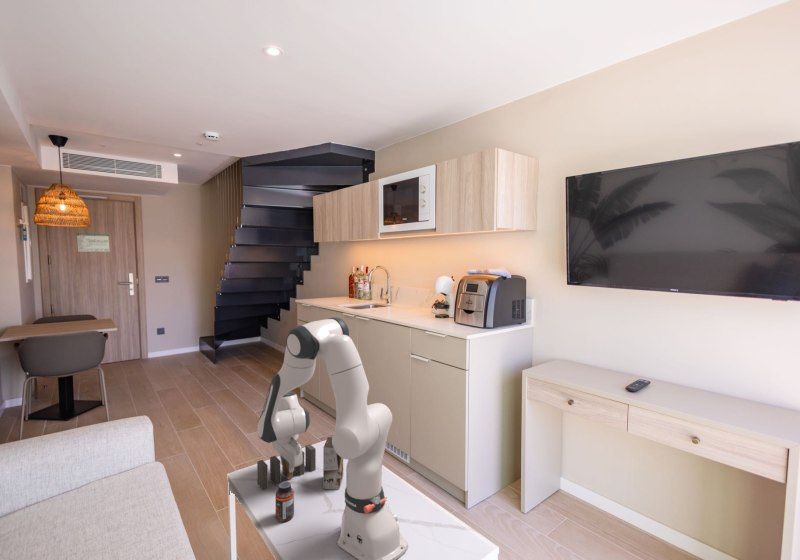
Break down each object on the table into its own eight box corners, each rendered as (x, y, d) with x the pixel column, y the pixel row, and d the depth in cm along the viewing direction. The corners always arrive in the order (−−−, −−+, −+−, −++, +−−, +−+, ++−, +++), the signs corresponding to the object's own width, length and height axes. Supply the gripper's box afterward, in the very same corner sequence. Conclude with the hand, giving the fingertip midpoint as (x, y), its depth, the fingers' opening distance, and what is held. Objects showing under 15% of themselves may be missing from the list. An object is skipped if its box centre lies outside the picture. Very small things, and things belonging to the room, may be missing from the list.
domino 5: (315, 470, 161) (315, 448, 160) (311, 471, 160) (311, 450, 159) (309, 465, 165) (309, 444, 164) (305, 466, 163) (305, 445, 163)
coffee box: (339, 489, 147) (339, 447, 146) (322, 489, 148) (322, 447, 147) (343, 476, 156) (343, 436, 156) (327, 475, 157) (327, 436, 156)
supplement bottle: (272, 516, 132) (272, 483, 131) (289, 508, 136) (289, 477, 135) (280, 525, 128) (279, 491, 127) (297, 517, 131) (296, 484, 131)
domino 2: (280, 483, 151) (280, 460, 151) (275, 485, 150) (275, 462, 149) (275, 477, 155) (274, 455, 154) (270, 479, 154) (270, 457, 153)
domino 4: (304, 474, 158) (304, 452, 157) (299, 476, 156) (299, 454, 156) (298, 469, 161) (298, 447, 161) (294, 470, 160) (294, 449, 160)
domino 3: (292, 477, 154) (292, 455, 154) (287, 479, 153) (287, 456, 152) (286, 472, 158) (286, 450, 157) (282, 473, 157) (282, 451, 156)
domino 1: (267, 488, 148) (267, 465, 147) (262, 490, 147) (262, 466, 146) (262, 482, 152) (262, 459, 151) (257, 484, 150) (257, 461, 150)
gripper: (306, 440, 149) (307, 476, 149) (283, 423, 164) (284, 455, 165) (291, 446, 145) (291, 482, 145) (269, 427, 160) (269, 460, 161)
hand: (287, 467), depth 155 cm, fingers closed on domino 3, 5 cm apart
